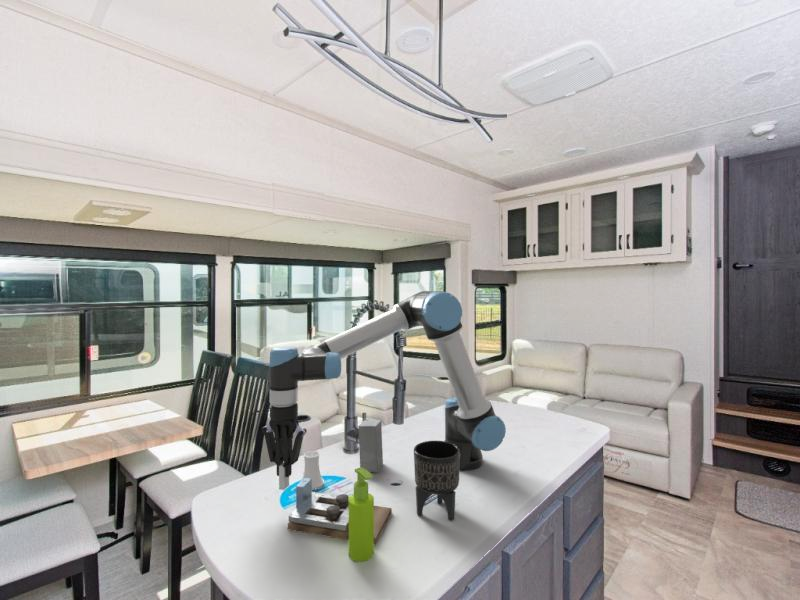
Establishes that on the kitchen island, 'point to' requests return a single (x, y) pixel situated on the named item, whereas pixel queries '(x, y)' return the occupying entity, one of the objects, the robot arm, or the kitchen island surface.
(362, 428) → the skincare box
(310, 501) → the slider knob panel
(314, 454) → the salt shaker
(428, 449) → the planter
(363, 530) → the soap dispenser
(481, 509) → the kitchen island surface
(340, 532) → the board
